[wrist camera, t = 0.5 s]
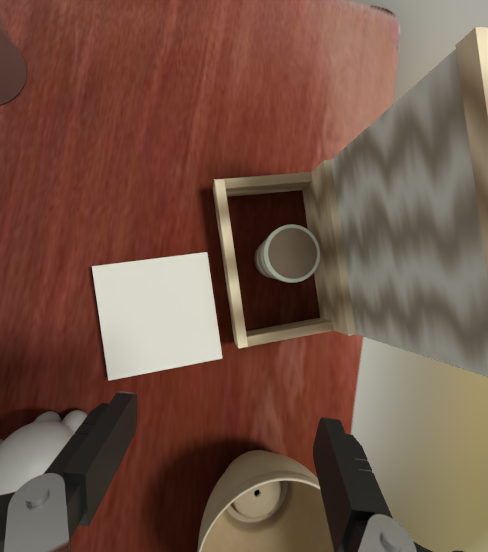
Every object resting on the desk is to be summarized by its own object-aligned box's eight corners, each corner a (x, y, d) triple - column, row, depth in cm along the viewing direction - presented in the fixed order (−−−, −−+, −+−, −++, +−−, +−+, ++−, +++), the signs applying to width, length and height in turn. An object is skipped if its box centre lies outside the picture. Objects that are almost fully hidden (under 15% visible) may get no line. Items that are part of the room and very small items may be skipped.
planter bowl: (328, 450, 39) (379, 513, 28) (277, 560, 38) (310, 672, 27) (231, 404, 37) (246, 454, 26) (172, 519, 35) (162, 624, 24)
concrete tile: (95, 266, 34) (91, 266, 33) (206, 253, 37) (207, 252, 35) (111, 377, 34) (108, 380, 33) (221, 355, 37) (222, 358, 35)
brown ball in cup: (247, 238, 38) (260, 227, 30) (291, 233, 39) (316, 221, 31) (253, 285, 38) (269, 286, 30) (297, 278, 39) (324, 278, 31)
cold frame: (212, 189, 37) (244, 20, 13) (312, 180, 39) (489, 27, 16) (234, 342, 37) (305, 451, 13) (332, 323, 40) (539, 388, 16)
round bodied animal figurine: (-18, 400, 32) (-98, 446, 23) (97, 403, 34) (63, 445, 25) (-27, 466, 31) (-112, 537, 23) (90, 464, 34) (53, 528, 25)
